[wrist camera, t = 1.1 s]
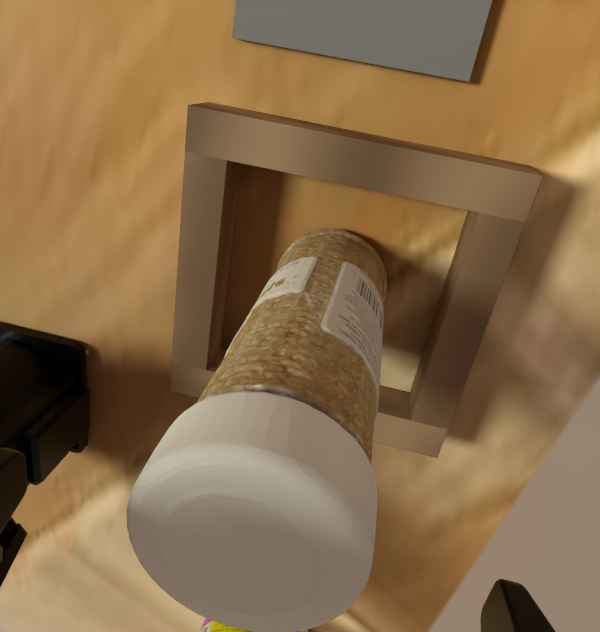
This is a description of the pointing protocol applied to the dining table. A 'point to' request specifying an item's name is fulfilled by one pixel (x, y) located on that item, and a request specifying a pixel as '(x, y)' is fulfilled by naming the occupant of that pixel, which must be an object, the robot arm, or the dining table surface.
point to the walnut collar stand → (363, 172)
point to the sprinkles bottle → (276, 453)
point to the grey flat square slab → (372, 31)
